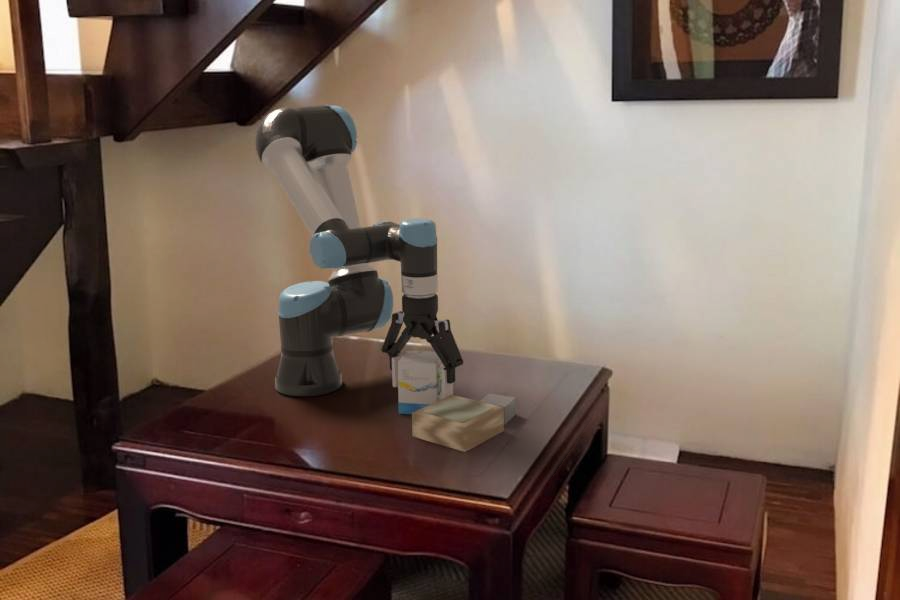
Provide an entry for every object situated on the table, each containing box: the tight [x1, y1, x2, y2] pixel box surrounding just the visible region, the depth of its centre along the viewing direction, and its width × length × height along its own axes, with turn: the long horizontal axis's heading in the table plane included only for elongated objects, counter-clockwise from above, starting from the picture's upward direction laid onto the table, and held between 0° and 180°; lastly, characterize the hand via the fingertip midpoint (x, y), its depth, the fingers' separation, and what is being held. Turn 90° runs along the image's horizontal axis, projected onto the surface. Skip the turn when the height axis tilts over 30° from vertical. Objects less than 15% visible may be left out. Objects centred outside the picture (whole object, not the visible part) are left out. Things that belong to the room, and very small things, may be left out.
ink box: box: [397, 350, 445, 415], centre depth 211 cm, size 8×8×12 cm
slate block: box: [479, 393, 517, 425], centre depth 207 cm, size 6×6×4 cm
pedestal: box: [411, 394, 505, 453], centre depth 198 cm, size 13×13×5 cm
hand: (422, 391), depth 212 cm, fingers open, 13 cm apart
